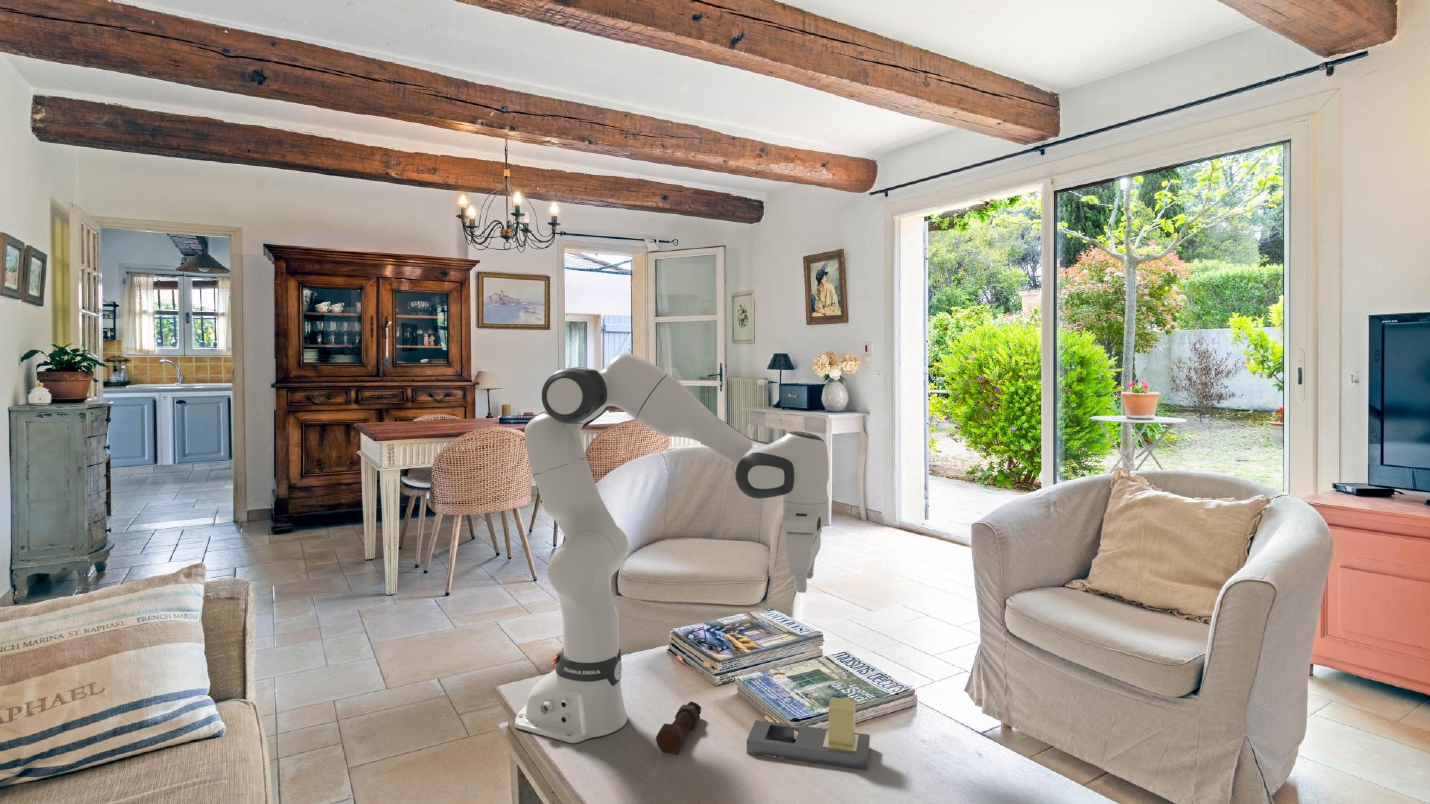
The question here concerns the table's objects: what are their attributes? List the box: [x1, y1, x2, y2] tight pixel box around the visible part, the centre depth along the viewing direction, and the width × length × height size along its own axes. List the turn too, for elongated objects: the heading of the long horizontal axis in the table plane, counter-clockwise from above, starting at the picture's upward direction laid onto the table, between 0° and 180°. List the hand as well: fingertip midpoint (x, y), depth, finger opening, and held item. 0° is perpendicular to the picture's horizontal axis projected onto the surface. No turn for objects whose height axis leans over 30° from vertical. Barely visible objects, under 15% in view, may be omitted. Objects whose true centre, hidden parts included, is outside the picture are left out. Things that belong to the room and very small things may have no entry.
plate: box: [746, 719, 871, 771], centre depth 139 cm, size 22×8×3 cm, turn 75°
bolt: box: [655, 701, 702, 755], centre depth 145 cm, size 6×5×15 cm
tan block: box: [827, 696, 857, 749], centre depth 137 cm, size 4×4×7 cm
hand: (805, 584), depth 146 cm, fingers open, 8 cm apart
